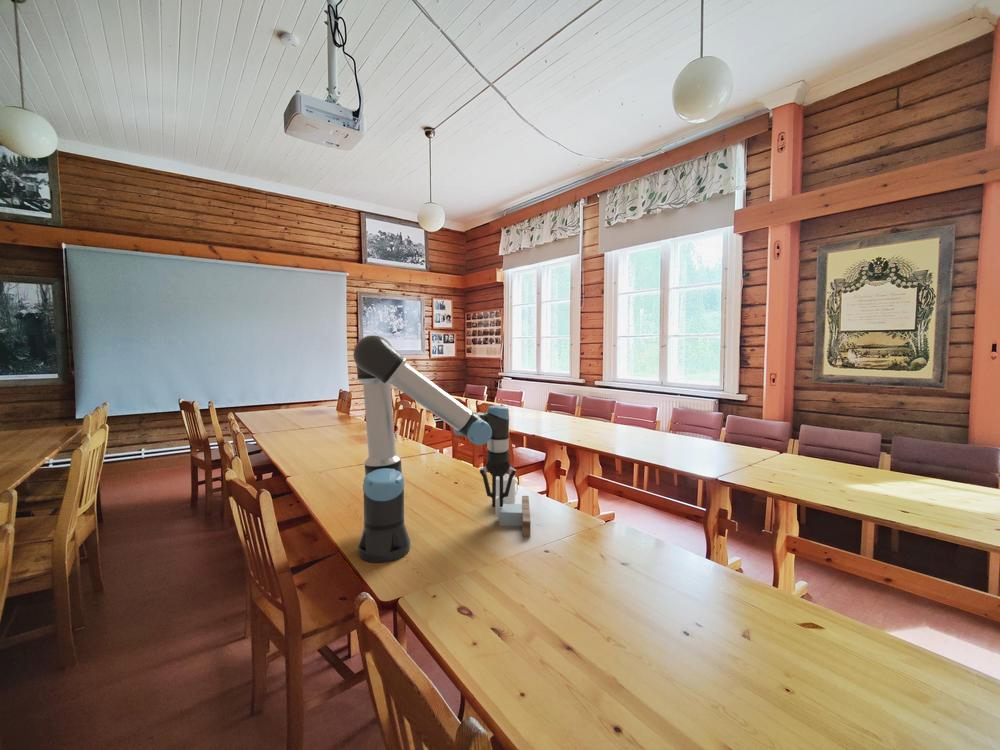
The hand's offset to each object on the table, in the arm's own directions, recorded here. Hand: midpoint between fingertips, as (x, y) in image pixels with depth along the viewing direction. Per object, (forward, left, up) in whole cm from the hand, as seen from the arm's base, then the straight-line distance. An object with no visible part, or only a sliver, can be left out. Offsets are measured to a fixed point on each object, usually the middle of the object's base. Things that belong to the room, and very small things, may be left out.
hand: (497, 515), depth 151 cm
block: (0, -5, -2) cm, 5 cm away
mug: (+18, -3, -2) cm, 18 cm away
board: (0, -10, -2) cm, 10 cm away
